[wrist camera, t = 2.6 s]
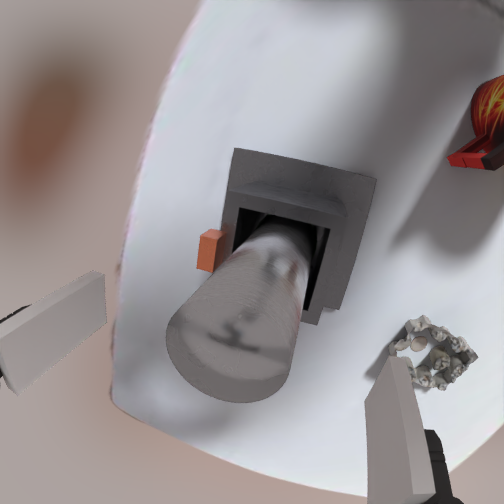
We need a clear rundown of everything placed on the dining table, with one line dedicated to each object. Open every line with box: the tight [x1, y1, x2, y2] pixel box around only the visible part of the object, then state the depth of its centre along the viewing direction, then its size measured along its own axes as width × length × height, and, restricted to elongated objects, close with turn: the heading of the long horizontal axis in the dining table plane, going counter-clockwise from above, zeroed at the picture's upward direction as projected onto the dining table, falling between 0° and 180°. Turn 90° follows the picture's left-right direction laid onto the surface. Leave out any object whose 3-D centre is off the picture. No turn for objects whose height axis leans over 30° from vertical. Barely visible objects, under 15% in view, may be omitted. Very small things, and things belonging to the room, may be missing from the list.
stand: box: [197, 148, 377, 325], centre depth 25 cm, size 14×14×12 cm
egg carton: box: [388, 315, 478, 391], centre depth 29 cm, size 11×8×4 cm
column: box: [166, 214, 317, 403], centre depth 20 cm, size 6×6×20 cm
